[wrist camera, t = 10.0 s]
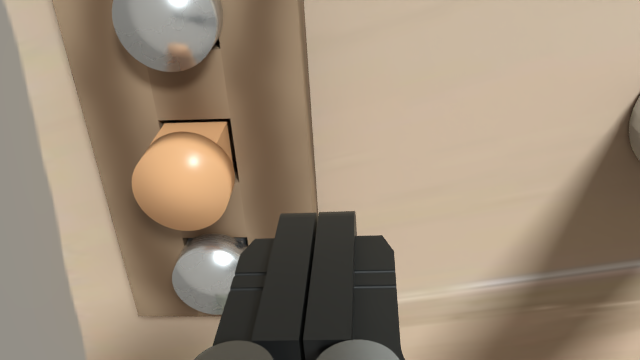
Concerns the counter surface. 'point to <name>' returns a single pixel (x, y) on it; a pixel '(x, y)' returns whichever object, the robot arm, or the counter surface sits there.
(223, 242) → the knob
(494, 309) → the counter surface
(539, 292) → the counter surface
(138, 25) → the knob
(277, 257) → the robot arm
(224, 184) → the knob mid
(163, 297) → the knob mount
